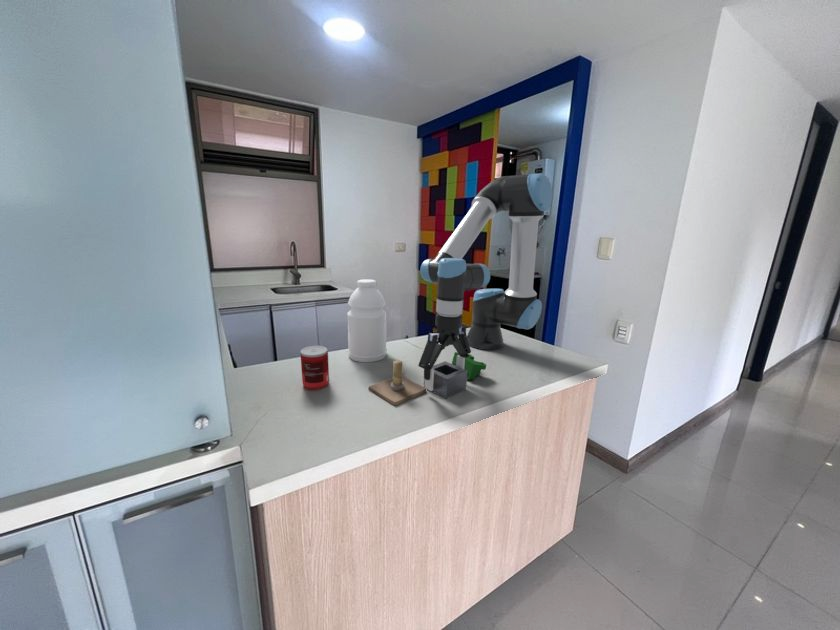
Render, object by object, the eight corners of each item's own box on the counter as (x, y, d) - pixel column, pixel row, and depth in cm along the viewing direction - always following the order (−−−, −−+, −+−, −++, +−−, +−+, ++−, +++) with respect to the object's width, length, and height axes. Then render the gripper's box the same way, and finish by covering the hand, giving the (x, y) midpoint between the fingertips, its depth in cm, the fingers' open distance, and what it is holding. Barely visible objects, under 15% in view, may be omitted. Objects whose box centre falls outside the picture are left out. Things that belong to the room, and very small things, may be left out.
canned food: (321, 376, 106) (319, 343, 103) (334, 384, 101) (332, 350, 98) (297, 383, 101) (295, 349, 98) (310, 393, 95) (308, 357, 93)
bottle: (393, 353, 127) (394, 280, 119) (372, 366, 115) (371, 285, 107) (363, 346, 133) (362, 276, 126) (340, 357, 121) (337, 281, 114)
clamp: (476, 389, 110) (490, 369, 106) (462, 388, 107) (475, 368, 103) (462, 363, 119) (474, 344, 115) (448, 361, 116) (460, 342, 112)
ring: (444, 378, 107) (445, 361, 105) (466, 388, 101) (467, 370, 99) (424, 387, 101) (424, 368, 99) (446, 398, 95) (447, 379, 93)
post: (399, 377, 106) (400, 351, 104) (426, 391, 98) (427, 363, 96) (368, 389, 98) (368, 361, 96) (394, 405, 90) (394, 375, 88)
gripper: (466, 305, 106) (461, 367, 111) (407, 317, 89) (405, 390, 94) (486, 310, 100) (480, 375, 106) (427, 323, 84) (423, 400, 89)
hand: (444, 382), depth 100 cm, fingers open, 13 cm apart
